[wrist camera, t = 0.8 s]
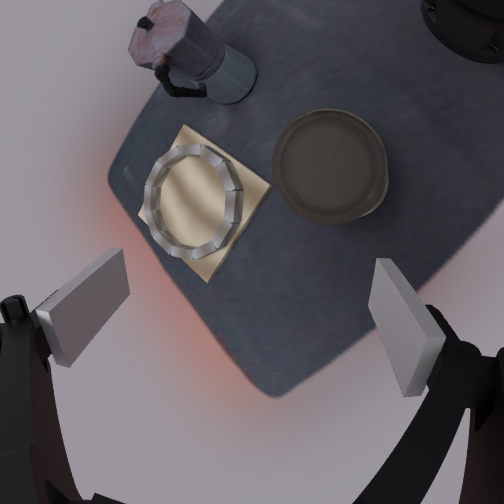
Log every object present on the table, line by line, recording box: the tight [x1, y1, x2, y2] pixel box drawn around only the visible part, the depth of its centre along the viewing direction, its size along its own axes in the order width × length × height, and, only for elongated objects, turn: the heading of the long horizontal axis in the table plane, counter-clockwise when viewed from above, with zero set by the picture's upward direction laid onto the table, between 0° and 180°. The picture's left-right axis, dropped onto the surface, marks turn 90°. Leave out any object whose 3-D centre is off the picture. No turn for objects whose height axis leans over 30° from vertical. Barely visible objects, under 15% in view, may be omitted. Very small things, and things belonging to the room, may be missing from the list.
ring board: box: [139, 124, 273, 283], centre depth 46 cm, size 18×18×4 cm
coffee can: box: [272, 108, 388, 225], centre depth 31 cm, size 10×10×14 cm
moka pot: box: [128, 0, 257, 104], centre depth 33 cm, size 10×15×20 cm, turn 17°
